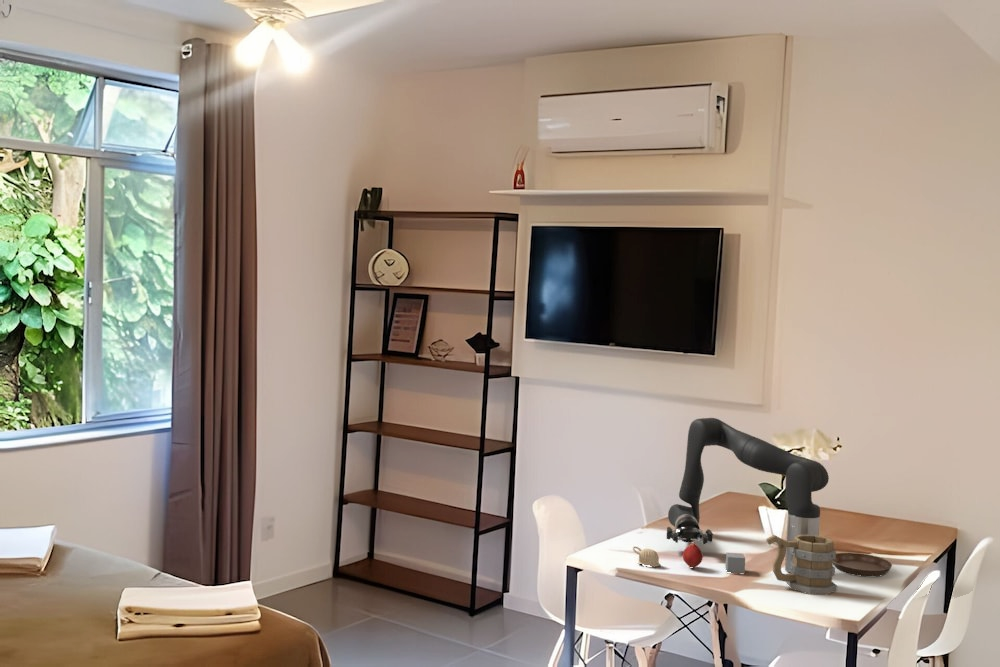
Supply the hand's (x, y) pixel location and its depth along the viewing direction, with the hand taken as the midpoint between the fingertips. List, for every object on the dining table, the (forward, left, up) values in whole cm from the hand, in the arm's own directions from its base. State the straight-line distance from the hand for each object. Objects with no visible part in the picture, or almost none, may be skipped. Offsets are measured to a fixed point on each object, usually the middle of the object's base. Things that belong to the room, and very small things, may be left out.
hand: (690, 540), depth 303 cm
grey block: (-16, +2, -6) cm, 17 cm away
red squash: (-5, +8, -6) cm, 12 cm away
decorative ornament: (+7, +15, -6) cm, 18 cm away
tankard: (-36, +4, -6) cm, 37 cm away
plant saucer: (-44, -27, -7) cm, 52 cm away
